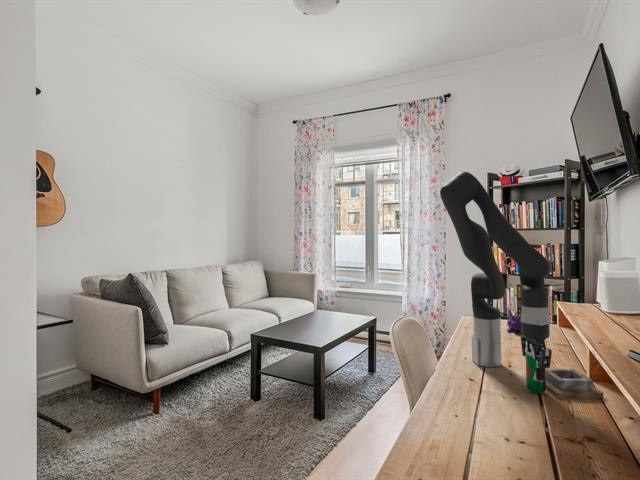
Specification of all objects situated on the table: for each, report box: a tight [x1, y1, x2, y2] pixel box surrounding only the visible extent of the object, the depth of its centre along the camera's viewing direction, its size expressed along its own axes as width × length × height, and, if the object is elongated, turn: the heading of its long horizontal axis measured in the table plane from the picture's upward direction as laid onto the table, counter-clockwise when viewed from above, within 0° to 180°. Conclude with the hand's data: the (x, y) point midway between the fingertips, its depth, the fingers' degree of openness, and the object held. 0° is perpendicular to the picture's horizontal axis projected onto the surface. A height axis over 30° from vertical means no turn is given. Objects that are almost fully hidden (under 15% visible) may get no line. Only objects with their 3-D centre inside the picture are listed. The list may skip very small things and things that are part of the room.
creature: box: [506, 306, 521, 333], centre depth 180 cm, size 9×18×12 cm, turn 148°
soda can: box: [525, 350, 547, 394], centre depth 113 cm, size 5×5×12 cm
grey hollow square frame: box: [545, 368, 604, 399], centre depth 115 cm, size 13×13×4 cm
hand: (535, 376), depth 113 cm, fingers closed on soda can, 5 cm apart
